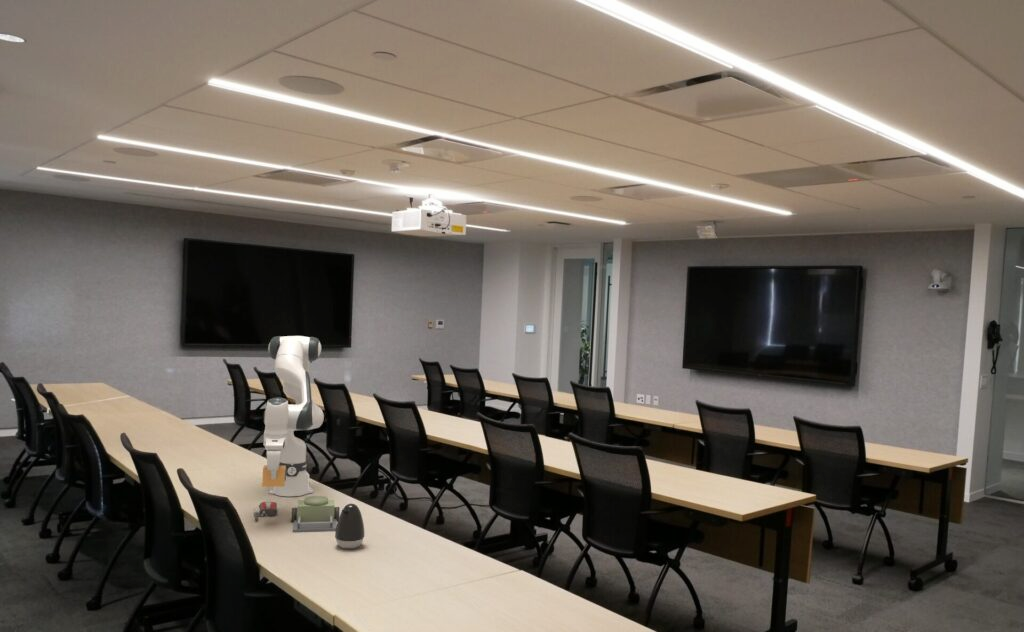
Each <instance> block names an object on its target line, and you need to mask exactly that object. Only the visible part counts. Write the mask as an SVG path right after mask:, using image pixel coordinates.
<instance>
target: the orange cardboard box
mask: <svg viewBox="0 0 1024 632" xmlns="http://www.w3.org/2000/svg"><path fill="white" fill-rule="evenodd" d="M261 481H262V484H261V487H265V488H266V487H269V488H270V487H272V488H273V487H283V486H285V481H286V466H279V467H278V470H277V471H276V479H271V470H268V467H267V465H263V467H262V480H261Z"/></svg>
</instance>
